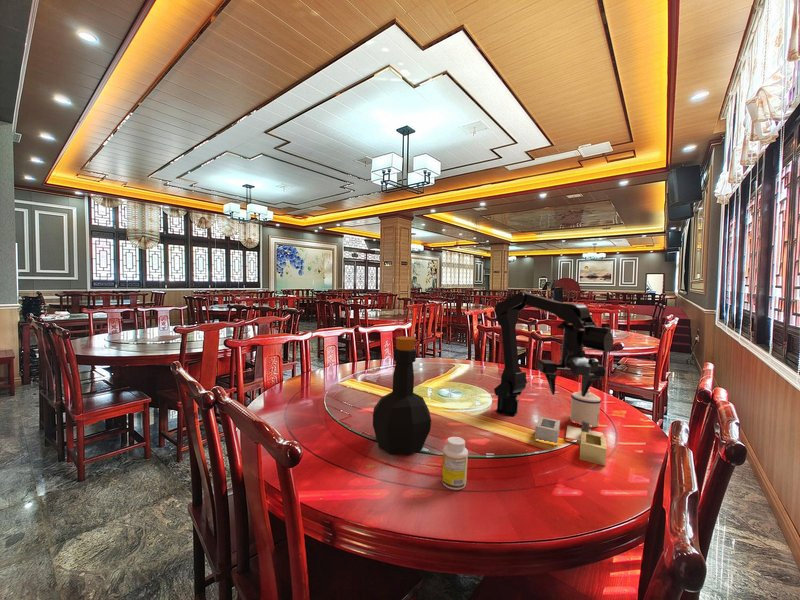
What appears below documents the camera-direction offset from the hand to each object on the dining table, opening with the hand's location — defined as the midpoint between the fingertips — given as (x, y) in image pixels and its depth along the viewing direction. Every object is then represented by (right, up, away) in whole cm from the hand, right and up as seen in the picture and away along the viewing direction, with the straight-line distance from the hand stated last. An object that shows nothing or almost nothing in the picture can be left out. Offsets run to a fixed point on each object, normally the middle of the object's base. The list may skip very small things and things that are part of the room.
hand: (568, 395), depth 112 cm
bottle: (-52, -11, -11) cm, 54 cm away
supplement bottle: (-39, -13, -29) cm, 51 cm away
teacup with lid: (+11, -13, +14) cm, 21 cm away
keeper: (+5, -13, -1) cm, 14 cm away
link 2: (+1, -13, -12) cm, 18 cm away
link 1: (-7, -12, -2) cm, 14 cm away
